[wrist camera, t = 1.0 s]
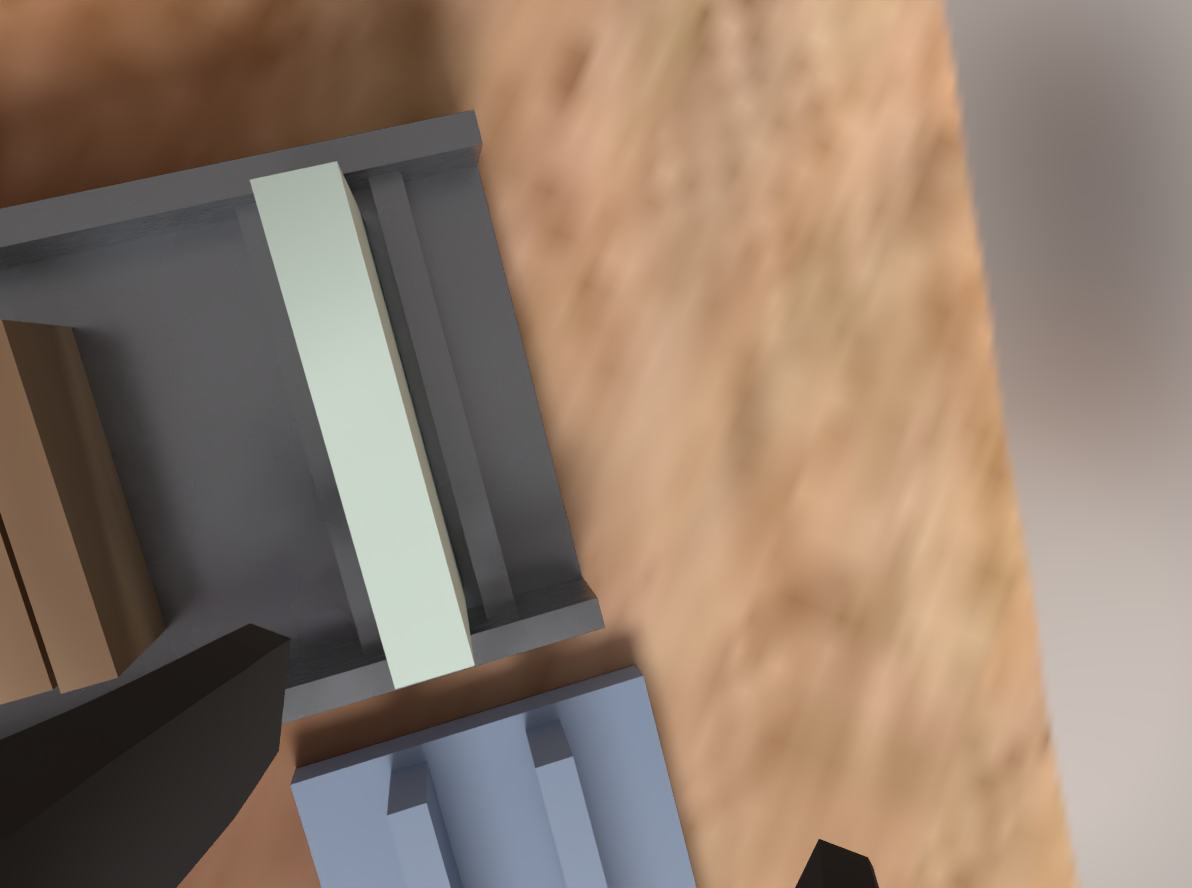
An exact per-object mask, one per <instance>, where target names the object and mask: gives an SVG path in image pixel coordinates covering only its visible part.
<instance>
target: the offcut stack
mask: <svg viewBox="0 0 1192 888" xmlns="http://www.w3.org/2000/svg"><path fill="white" fill-rule="evenodd" d="M165 630H166V626H165V623H164V620H163V616H162V613H161V610H160V607H159V604H158V601H157V597H156V594H155V591H154V588H153V585H152V582H151V578H150V575H149V572H148V569H147V566H146V563H145V559H144V556H143V553H142V550H141V547H140V544H139V540H138V537H137V534H136V531H135V528H134V525H133V521H132V518H131V515H130V512H129V509H128V506H127V502H126V499H125V496H124V493H123V490H122V487H121V483H120V480H119V477H118V474H117V471H116V468H115V465H114V461H113V458H112V455H111V452H110V449H109V446H108V442H107V439H106V436H105V433H104V430H103V427H102V423H101V420H100V417H99V414H98V411H97V408H96V404H95V401H94V398H93V395H92V392H91V389H90V385H89V382H88V379H87V376H86V373H85V370H84V366H83V363H82V360H81V357H80V354H79V351H78V347H77V344H76V341H75V338H74V335H73V332H72V328H71V327H68V326H58V325H49V324H39V323H30V322H20V321H11V320H0V705H1V704H5V703H8V702H12V701H15V700H19V699H22V698H26V697H29V696H33V695H36V694H40V693H43V692H47V691H50V690H53V689H54V688H56V687H57V686H59V689H60V692H61V694H62V693H66V692H69V691H73V690H76V689H80V688H83V687H87V686H90V685H94V684H97V683H101V682H105V681H108V680H112V679H115V678H118V677H119V676H120V675H121V674H122V673H123V672H124V671H125V670H126V669H127V668H128V667H129V666H130V665H131V664H132V663H133V662H134V661H135V660H136V659H137V658H138V657H139V656H140V655H141V654H142V653H143V652H144V651H145V650H146V649H147V648H148V647H149V646H150V645H151V644H152V643H153V642H154V641H155V640H156V639H157V638H158V637H159V636H160V635H161V634H162V633H163V632H164V631H165Z"/></svg>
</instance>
